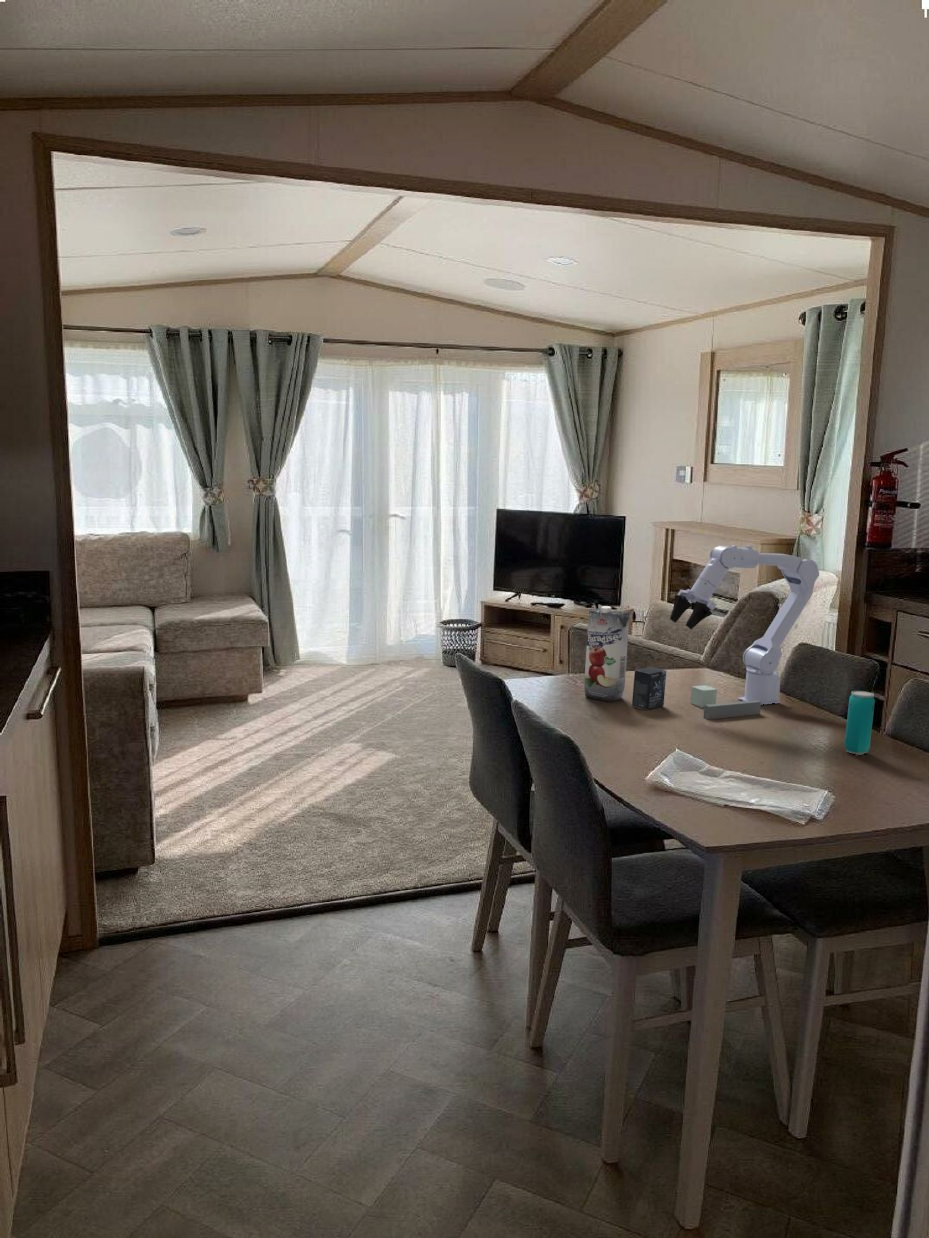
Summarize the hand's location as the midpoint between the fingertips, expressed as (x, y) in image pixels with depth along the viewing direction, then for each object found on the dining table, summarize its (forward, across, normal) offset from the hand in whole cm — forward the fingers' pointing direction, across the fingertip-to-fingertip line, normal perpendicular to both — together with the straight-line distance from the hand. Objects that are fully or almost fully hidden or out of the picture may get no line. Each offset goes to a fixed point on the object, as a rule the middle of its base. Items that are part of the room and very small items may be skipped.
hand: (680, 624), depth 277 cm
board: (+14, +16, +20) cm, 29 cm away
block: (+15, +3, +20) cm, 25 cm away
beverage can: (+8, +53, +25) cm, 59 cm away
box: (+24, +1, +6) cm, 25 cm away
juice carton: (+29, -11, 0) cm, 31 cm away
